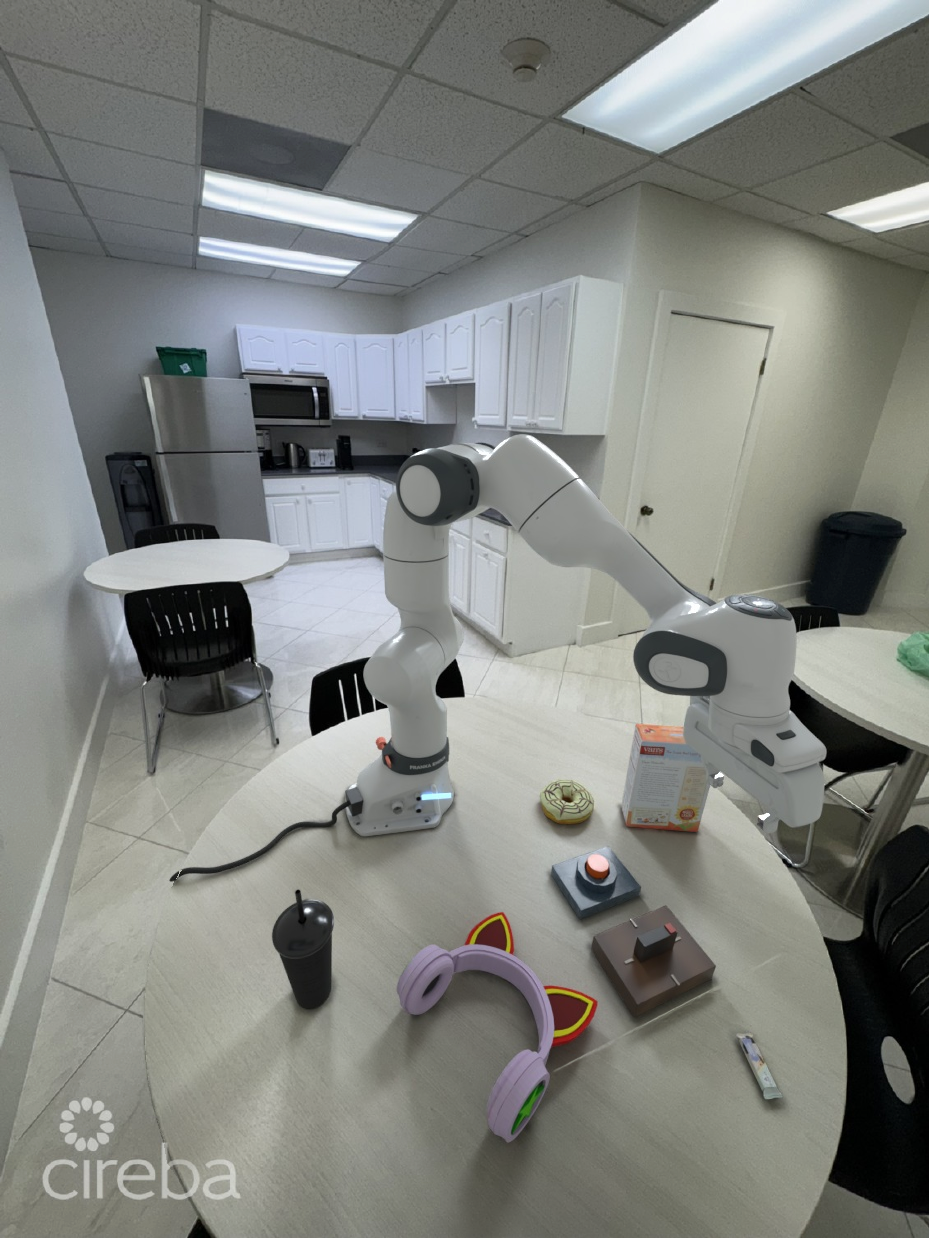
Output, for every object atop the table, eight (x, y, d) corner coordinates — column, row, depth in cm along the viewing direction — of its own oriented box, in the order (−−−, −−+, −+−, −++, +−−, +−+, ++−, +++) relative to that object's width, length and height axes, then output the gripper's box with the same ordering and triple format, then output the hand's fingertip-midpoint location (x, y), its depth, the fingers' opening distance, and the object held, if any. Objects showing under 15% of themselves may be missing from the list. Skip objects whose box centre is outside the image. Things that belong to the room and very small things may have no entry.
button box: (579, 919, 79) (582, 902, 78) (550, 874, 87) (552, 857, 85) (639, 895, 83) (643, 879, 82) (606, 854, 91) (609, 838, 90)
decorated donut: (530, 798, 104) (531, 784, 102) (572, 784, 108) (574, 771, 106) (557, 834, 95) (559, 820, 94) (602, 818, 99) (605, 804, 98)
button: (594, 881, 82) (595, 874, 81) (581, 864, 85) (583, 857, 84) (612, 875, 83) (613, 867, 82) (599, 858, 86) (600, 851, 85)
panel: (634, 1019, 67) (638, 1005, 65) (590, 947, 75) (593, 934, 74) (712, 979, 71) (717, 965, 70) (662, 917, 80) (666, 903, 79)
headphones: (389, 977, 63) (495, 873, 75) (399, 1015, 68) (498, 912, 80) (501, 1129, 50) (609, 974, 62) (504, 1163, 55) (604, 1013, 66)
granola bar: (782, 1100, 59) (785, 1096, 58) (763, 1101, 59) (766, 1096, 58) (750, 1034, 65) (752, 1030, 65) (733, 1035, 65) (735, 1030, 65)
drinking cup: (311, 1034, 64) (294, 933, 56) (273, 999, 68) (251, 900, 60) (353, 981, 70) (342, 883, 62) (315, 952, 74) (300, 855, 66)
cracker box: (688, 810, 101) (710, 727, 93) (698, 834, 96) (723, 747, 88) (619, 804, 103) (635, 721, 94) (625, 827, 97) (642, 740, 89)
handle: (640, 963, 70) (645, 946, 69) (633, 952, 72) (637, 935, 70) (673, 947, 72) (678, 931, 71) (665, 937, 74) (670, 921, 72)
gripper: (673, 689, 72) (671, 767, 77) (794, 770, 53) (781, 867, 58) (710, 680, 74) (705, 757, 78) (841, 756, 55) (824, 852, 59)
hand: (739, 805), depth 68 cm, fingers open, 8 cm apart
